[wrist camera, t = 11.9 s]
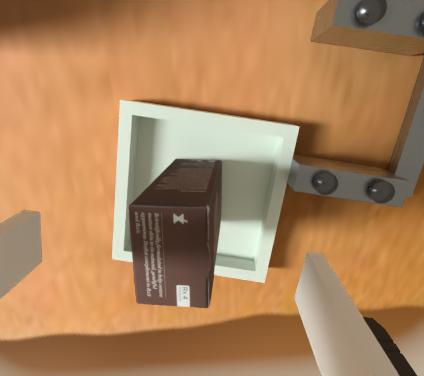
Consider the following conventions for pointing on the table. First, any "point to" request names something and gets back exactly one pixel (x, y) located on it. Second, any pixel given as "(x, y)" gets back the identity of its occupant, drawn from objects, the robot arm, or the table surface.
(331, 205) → the table surface
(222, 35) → the table surface
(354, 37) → the hitch bracket
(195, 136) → the tray
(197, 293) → the box
